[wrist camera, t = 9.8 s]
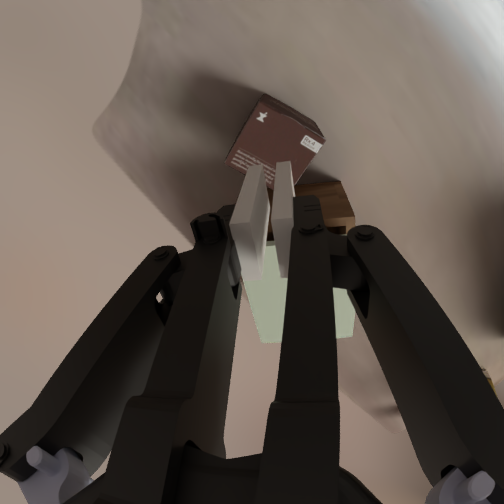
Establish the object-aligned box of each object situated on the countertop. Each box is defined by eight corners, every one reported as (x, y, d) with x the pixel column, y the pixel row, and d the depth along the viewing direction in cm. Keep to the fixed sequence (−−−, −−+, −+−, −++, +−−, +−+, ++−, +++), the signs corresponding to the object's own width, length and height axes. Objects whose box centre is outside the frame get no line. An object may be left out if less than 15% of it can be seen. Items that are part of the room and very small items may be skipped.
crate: (247, 190, 33) (236, 227, 26) (340, 181, 31) (355, 216, 24) (266, 289, 40) (262, 336, 34) (342, 283, 38) (351, 329, 32)
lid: (234, 244, 25) (234, 249, 24) (359, 233, 23) (360, 237, 23) (261, 338, 33) (261, 343, 33) (351, 332, 31) (352, 336, 31)
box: (234, 141, 30) (220, 163, 24) (264, 91, 26) (258, 98, 20) (286, 170, 31) (286, 199, 25) (318, 123, 28) (328, 140, 22)
